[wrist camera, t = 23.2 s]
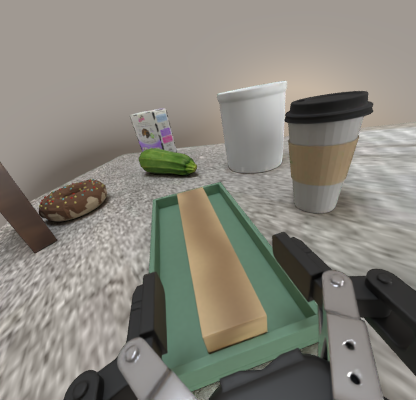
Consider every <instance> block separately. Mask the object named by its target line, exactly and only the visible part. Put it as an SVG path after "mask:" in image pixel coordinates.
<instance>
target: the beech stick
mask: <svg viewBox="0 0 416 400" xmlns="http://www.w3.org/2000/svg"><path fill="white" fill-rule="evenodd" d="M177 198H178V204H179V209H180V215H181V220H182V226H183V232H184V237H185V243H186V248H187V254H188V260H189V265H190V271H191V276H192V282H193V288H194V293H195V299H196V304H197V310H198V316H199V321H200V327H201V332H202V338H203V340H204V343H205V346H206V348H207V351H208V354H212V353H214V352H217V351H220V350H223V349H225V348H228V347H231V346H233V345H236V344H239V343H241V342H244V341H247V340H249V339H252V338H255V337H257V336H260V335H263V334H265V333H268V331H267V315H266V313H265V311H264V309H263V307H262V305H261V303H260V301H259V299H258V297H257V295H256V293H255V291H254V289H253V287H252V285H251V283H250V281H249V279H248V277H247V275H246V273H245V271H244V269H243V267H242V265H241V263H240V261H239V259H238V257H237V255H236V253H235V251H234V249H233V247H232V245H231V243H230V241H229V239H228V237H227V235H226V233H225V231H224V229H223V227H222V225H221V223H220V221H219V219H218V217H217V215H216V213H215V211H214V209H213V207H212V205H211V203H210V201H209V199H208V197H207V195H206V193H205V191H204V189H203V187H201V188H197V189H193V190H190V191H186V192H182V193H178V194H177Z"/></svg>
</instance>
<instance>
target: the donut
mask: <svg viewBox="0 0 416 400" xmlns="http://www.w3.org/2000/svg"><path fill="white" fill-rule="evenodd" d="M105 187H106V186H105V185H104V184H103V183H101V182H100V181H97V180H94V179H93V180H91V179H90V180H86V181H83V182H79V183H75V184H73V183H72V185H67V186H66V187H63V188H61V189H59V190H57V191H53V192H51V194H50V195H48V196H47V197H46V196H45V197H44V199H43V200H41V201H42V202H41V203H40V205H39V215H40V216H41V217H42V218H46V219H48V220H51V221H67V220H71V219H74V218H77V217H80V216H82V215H84V214H87V213H89V212H90V211H92V210H94V209H95V208H97V207H98V206H100V205H101V204H102V203H103V201H104V200H105V198H106V196H107V191H106V188H105Z"/></svg>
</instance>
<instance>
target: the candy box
mask: <svg viewBox="0 0 416 400" xmlns="http://www.w3.org/2000/svg"><path fill="white" fill-rule="evenodd" d="M130 118H131V121H132V124H133V127H134V129H135V132H136V135H137V138H138V141H139V143H140V146H141V149H142V152H143V151H144V150H146V149H151V148H156V149H162V150H166V151H171V152H176V153H177V150H176V146H175V142H174V138H173V135H172V131H171V127H170V123H169V120H168V115H167V111H166V108H165V109H157V110H152V111H146V112H141V113H137V114H133V115H130Z"/></svg>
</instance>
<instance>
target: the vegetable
mask: <svg viewBox="0 0 416 400" xmlns="http://www.w3.org/2000/svg"><path fill="white" fill-rule="evenodd" d="M139 162H140V165H141V167H142V168H143V169H144V170H145V171H147V172H150V173H155V174H178V175H189V174H190V173H193V172H195V171H196V169H197V165H196V164H195V163H194V161H193V159H192V158H190V157H189V156H187V155H185V154H181V153H176V152H171V151H166V150H162V149H156V148H151V149H146V150H144V151H143V152H142V153H141V155H140V157H139Z"/></svg>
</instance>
